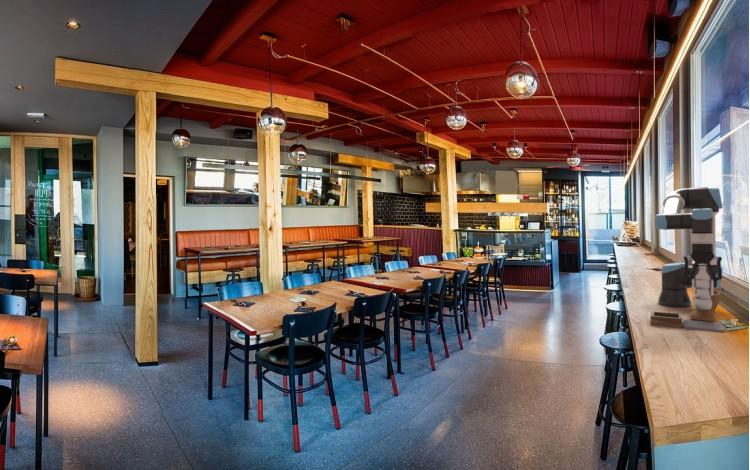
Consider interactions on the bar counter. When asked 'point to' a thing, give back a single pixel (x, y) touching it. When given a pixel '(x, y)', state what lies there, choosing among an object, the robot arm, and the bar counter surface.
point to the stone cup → (707, 314)
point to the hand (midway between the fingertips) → (702, 294)
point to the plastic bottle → (702, 288)
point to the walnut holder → (666, 319)
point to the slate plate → (703, 325)
